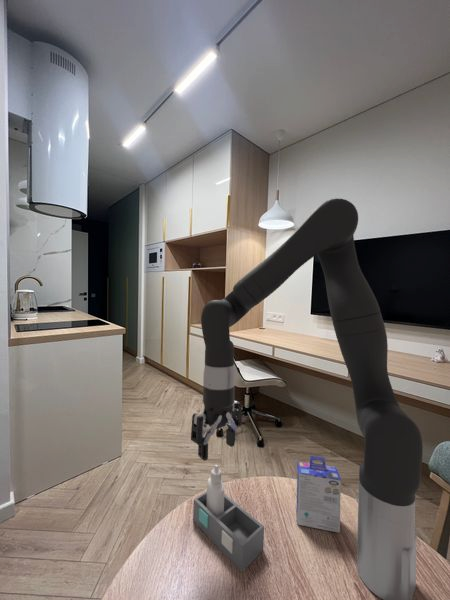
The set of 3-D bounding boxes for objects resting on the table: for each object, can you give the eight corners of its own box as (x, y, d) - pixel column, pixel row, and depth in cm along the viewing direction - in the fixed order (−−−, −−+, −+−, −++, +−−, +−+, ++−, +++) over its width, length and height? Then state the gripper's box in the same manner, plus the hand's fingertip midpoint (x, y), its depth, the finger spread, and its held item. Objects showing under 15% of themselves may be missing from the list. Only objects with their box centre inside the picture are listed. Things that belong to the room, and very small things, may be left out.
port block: (263, 549, 54) (264, 526, 54) (240, 573, 49) (241, 547, 49) (214, 505, 65) (214, 485, 65) (191, 521, 60) (192, 499, 60)
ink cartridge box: (335, 515, 64) (337, 456, 64) (341, 534, 58) (343, 470, 59) (295, 507, 66) (296, 451, 66) (296, 525, 60) (298, 464, 61)
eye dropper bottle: (224, 507, 63) (226, 459, 63) (223, 527, 57) (225, 474, 57) (206, 506, 63) (208, 457, 63) (203, 526, 57) (205, 472, 58)
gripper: (205, 394, 53) (204, 472, 53) (250, 381, 63) (249, 447, 63) (185, 385, 59) (183, 456, 58) (229, 374, 68) (227, 435, 68)
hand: (217, 451), depth 60 cm, fingers open, 8 cm apart
